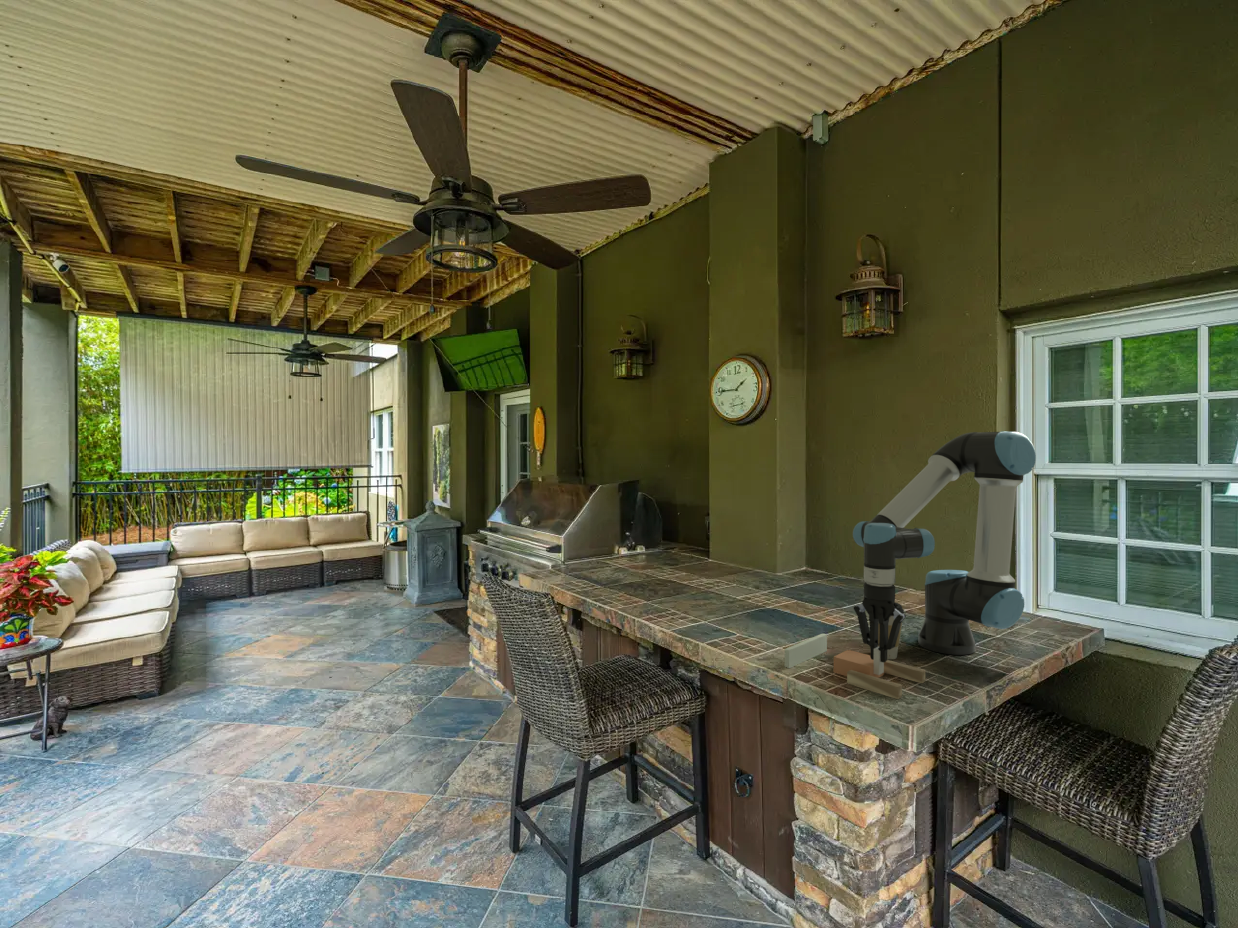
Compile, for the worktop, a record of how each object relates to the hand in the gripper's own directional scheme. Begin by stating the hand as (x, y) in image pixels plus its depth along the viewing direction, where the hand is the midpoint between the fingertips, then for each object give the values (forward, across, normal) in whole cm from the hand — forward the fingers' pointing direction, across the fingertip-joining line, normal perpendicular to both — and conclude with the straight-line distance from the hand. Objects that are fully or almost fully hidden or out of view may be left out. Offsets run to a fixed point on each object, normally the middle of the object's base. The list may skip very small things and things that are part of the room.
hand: (878, 672), depth 156 cm
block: (+2, -6, +1) cm, 6 cm away
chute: (+2, +2, 0) cm, 3 cm away
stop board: (+2, -21, 0) cm, 21 cm away
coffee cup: (+2, -7, +19) cm, 20 cm away
